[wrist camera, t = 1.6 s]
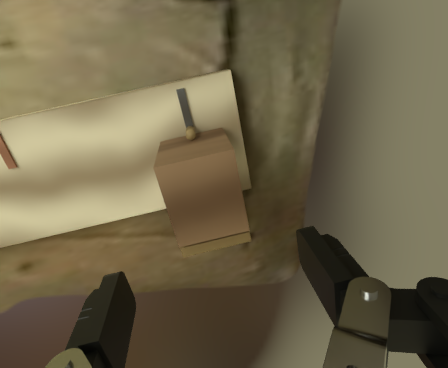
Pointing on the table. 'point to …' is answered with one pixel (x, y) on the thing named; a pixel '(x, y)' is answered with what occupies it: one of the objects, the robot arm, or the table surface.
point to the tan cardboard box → (202, 191)
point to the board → (104, 154)
